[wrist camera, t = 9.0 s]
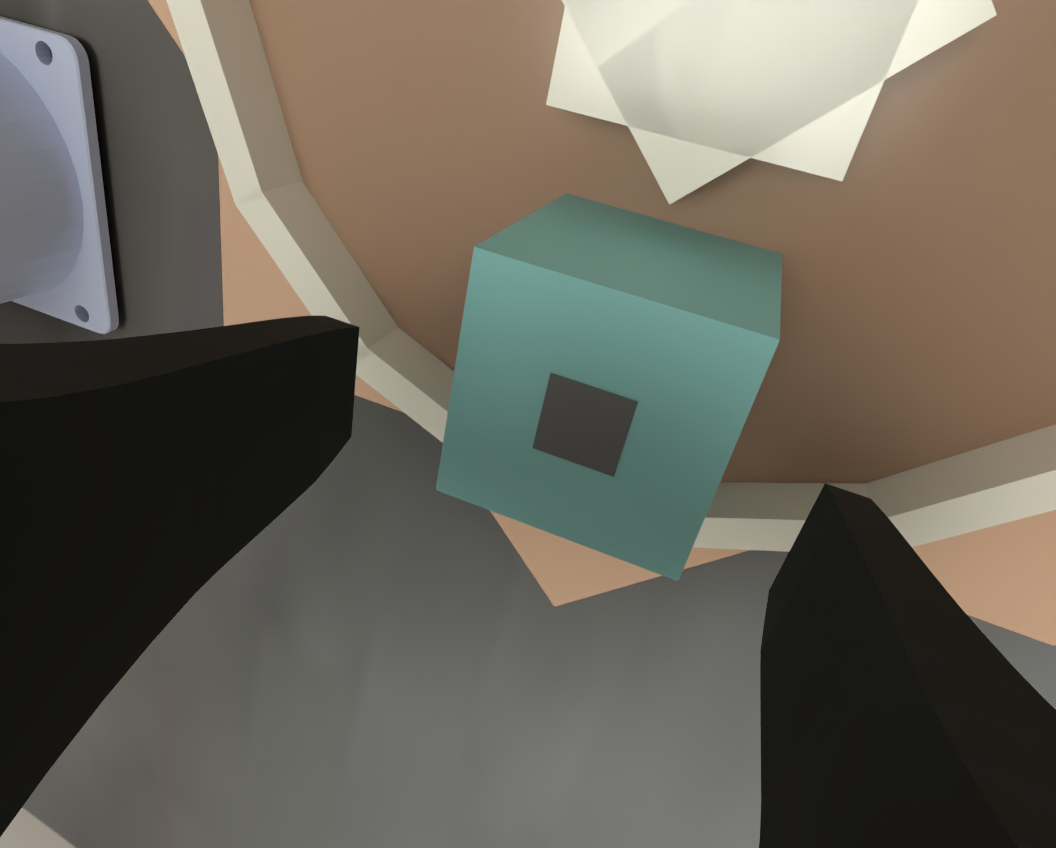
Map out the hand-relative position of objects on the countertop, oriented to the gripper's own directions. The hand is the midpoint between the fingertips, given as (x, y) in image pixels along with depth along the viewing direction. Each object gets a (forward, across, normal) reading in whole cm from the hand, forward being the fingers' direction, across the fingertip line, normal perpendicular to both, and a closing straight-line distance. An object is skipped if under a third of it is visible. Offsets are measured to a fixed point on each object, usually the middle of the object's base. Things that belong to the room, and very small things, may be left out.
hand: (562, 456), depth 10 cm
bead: (+6, 0, 0) cm, 6 cm away
